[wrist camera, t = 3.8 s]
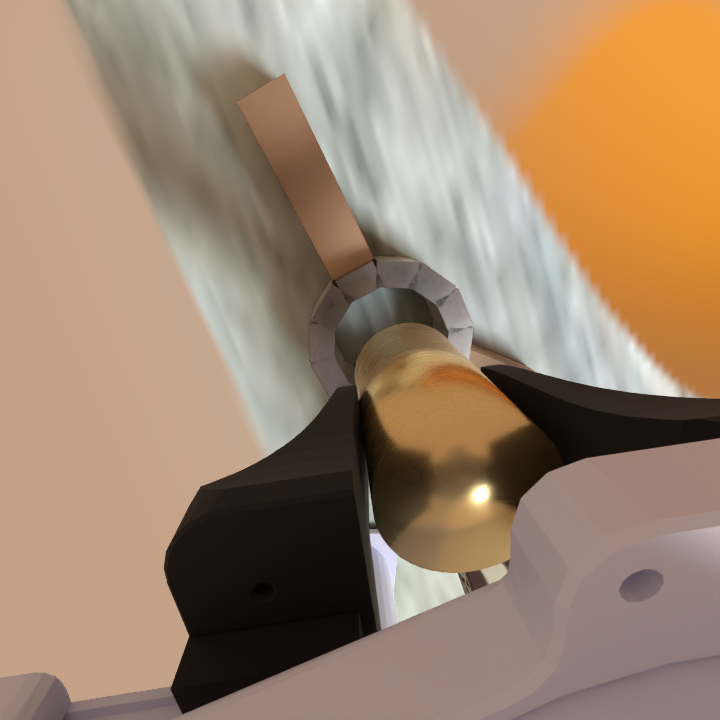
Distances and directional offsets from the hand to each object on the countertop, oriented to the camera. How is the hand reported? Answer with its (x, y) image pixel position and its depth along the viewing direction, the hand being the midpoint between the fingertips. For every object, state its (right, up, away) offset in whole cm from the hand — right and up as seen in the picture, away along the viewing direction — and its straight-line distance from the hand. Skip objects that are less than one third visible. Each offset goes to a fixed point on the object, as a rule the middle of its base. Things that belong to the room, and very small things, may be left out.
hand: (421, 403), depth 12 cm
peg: (0, +1, +2) cm, 2 cm away
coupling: (+1, +6, +8) cm, 10 cm away
